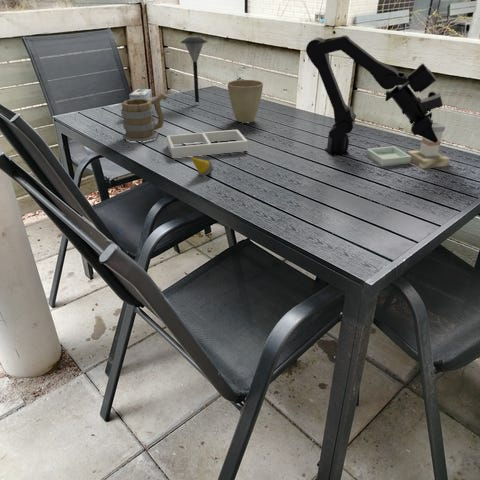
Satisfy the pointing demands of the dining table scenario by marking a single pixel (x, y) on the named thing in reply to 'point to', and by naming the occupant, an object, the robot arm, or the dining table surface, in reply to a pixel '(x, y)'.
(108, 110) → the dining table surface
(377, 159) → the tray
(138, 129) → the tankard
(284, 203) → the dining table surface
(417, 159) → the collar block
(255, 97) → the plant pot
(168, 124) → the dining table surface
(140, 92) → the light bulb box
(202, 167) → the yellow tapered piece
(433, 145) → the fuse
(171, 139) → the parts bin
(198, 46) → the solar garden light
